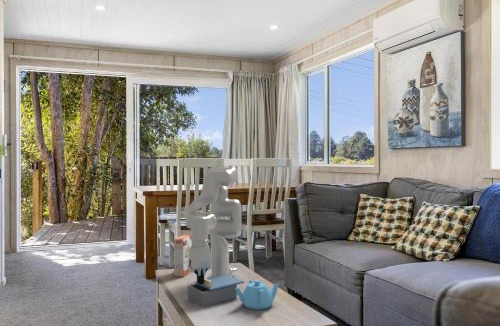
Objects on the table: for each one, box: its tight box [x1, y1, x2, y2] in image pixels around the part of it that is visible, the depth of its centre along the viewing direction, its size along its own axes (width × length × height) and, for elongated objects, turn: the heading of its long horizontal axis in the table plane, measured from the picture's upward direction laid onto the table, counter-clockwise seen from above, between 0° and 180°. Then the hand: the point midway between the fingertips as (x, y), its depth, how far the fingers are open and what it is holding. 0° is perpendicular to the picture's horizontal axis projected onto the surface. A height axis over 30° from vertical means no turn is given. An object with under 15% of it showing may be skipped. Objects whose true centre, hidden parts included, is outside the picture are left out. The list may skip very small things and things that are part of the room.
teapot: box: [235, 279, 280, 311], centre depth 183 cm, size 15×15×11 cm
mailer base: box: [187, 283, 238, 308], centre depth 193 cm, size 18×14×6 cm
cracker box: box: [173, 234, 192, 278], centre depth 235 cm, size 14×6×21 cm, turn 168°
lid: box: [194, 275, 245, 291], centre depth 195 cm, size 18×14×3 cm
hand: (200, 283), depth 189 cm, fingers closed
